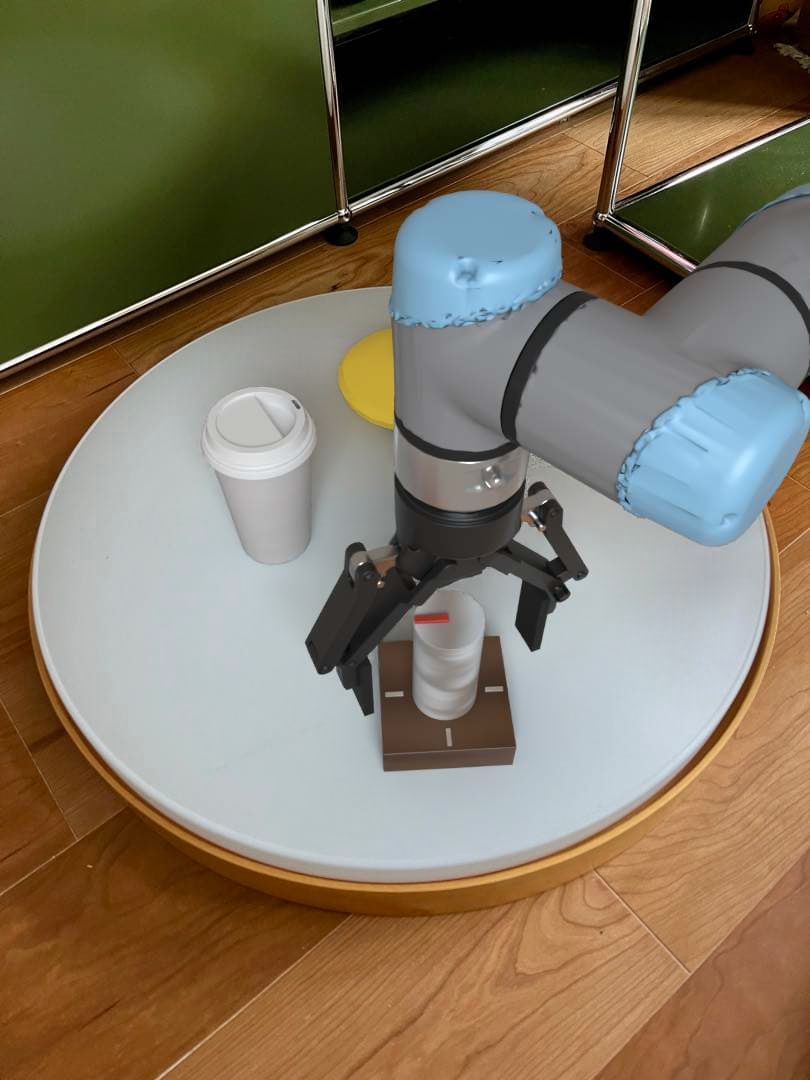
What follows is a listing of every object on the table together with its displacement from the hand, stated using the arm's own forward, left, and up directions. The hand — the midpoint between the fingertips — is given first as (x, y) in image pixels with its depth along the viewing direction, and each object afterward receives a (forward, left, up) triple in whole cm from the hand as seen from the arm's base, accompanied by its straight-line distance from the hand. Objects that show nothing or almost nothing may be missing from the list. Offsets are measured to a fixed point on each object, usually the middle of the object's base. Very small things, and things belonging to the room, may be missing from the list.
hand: (446, 667), depth 67 cm
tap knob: (0, 0, -4) cm, 4 cm away
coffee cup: (+19, +14, -7) cm, 25 cm away
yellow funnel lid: (+38, 0, -7) cm, 39 cm away
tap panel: (0, 0, -7) cm, 7 cm away
